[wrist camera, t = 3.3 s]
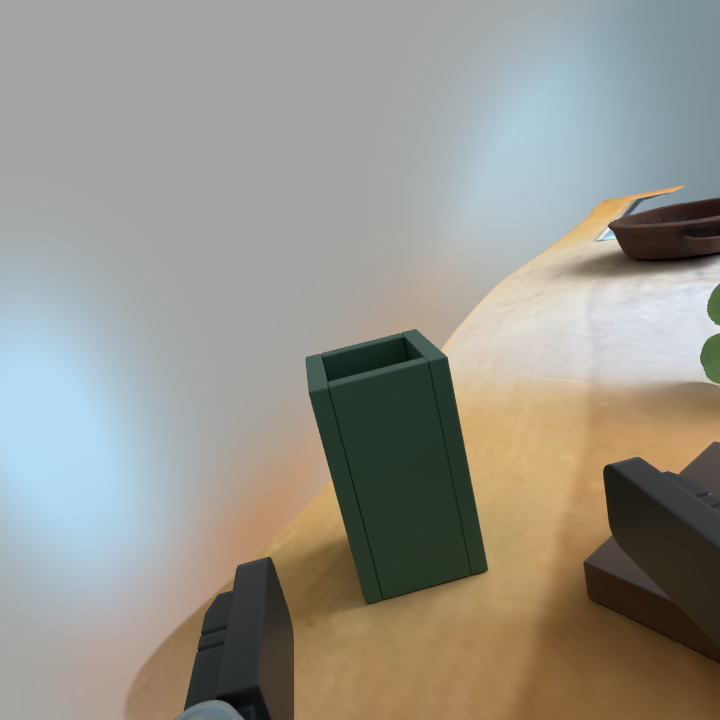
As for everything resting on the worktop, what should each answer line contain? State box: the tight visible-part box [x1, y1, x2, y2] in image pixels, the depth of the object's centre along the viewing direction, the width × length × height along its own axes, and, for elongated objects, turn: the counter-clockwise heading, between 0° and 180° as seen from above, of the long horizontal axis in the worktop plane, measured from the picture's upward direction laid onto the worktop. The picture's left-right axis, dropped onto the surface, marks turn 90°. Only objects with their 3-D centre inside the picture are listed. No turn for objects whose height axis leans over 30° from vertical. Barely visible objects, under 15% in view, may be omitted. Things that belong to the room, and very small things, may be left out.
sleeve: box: [306, 329, 488, 604], centre depth 22 cm, size 5×5×9 cm
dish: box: [608, 198, 720, 259], centre depth 67 cm, size 18×22×5 cm
